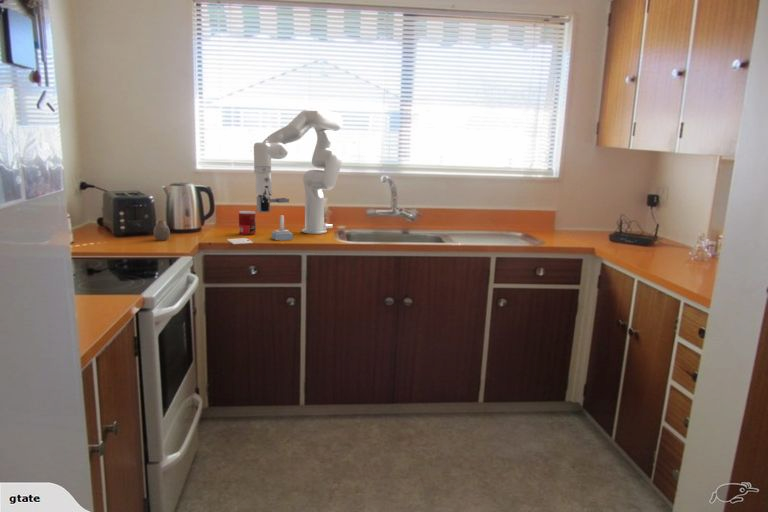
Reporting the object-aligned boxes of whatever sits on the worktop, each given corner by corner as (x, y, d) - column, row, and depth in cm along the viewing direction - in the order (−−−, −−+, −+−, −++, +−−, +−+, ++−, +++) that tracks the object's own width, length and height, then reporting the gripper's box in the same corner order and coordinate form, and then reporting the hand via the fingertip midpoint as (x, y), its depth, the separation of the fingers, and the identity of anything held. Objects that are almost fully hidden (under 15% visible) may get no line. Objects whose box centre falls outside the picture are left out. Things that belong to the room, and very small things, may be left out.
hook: (259, 212, 252) (259, 197, 250) (256, 211, 256) (256, 196, 254) (289, 211, 259) (289, 196, 257) (285, 210, 263) (285, 195, 261)
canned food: (253, 235, 269) (253, 213, 267) (237, 234, 269) (236, 212, 267) (257, 232, 276) (257, 211, 274) (241, 232, 276) (241, 210, 274)
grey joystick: (287, 237, 267) (287, 214, 265) (292, 239, 261) (292, 216, 259) (271, 238, 263) (271, 215, 261) (276, 240, 257) (276, 217, 255)
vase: (150, 240, 249) (149, 220, 247) (162, 238, 255) (161, 219, 253) (161, 241, 246) (160, 222, 244) (173, 239, 252) (172, 220, 250)
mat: (246, 238, 259) (246, 238, 259) (253, 243, 250) (253, 242, 250) (227, 240, 255) (227, 239, 254) (233, 244, 245) (233, 243, 245)
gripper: (276, 171, 246) (277, 212, 250) (264, 169, 260) (265, 207, 264) (260, 171, 242) (261, 213, 246) (249, 169, 256) (250, 208, 260)
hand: (263, 210), depth 255 cm, fingers closed on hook, 4 cm apart
